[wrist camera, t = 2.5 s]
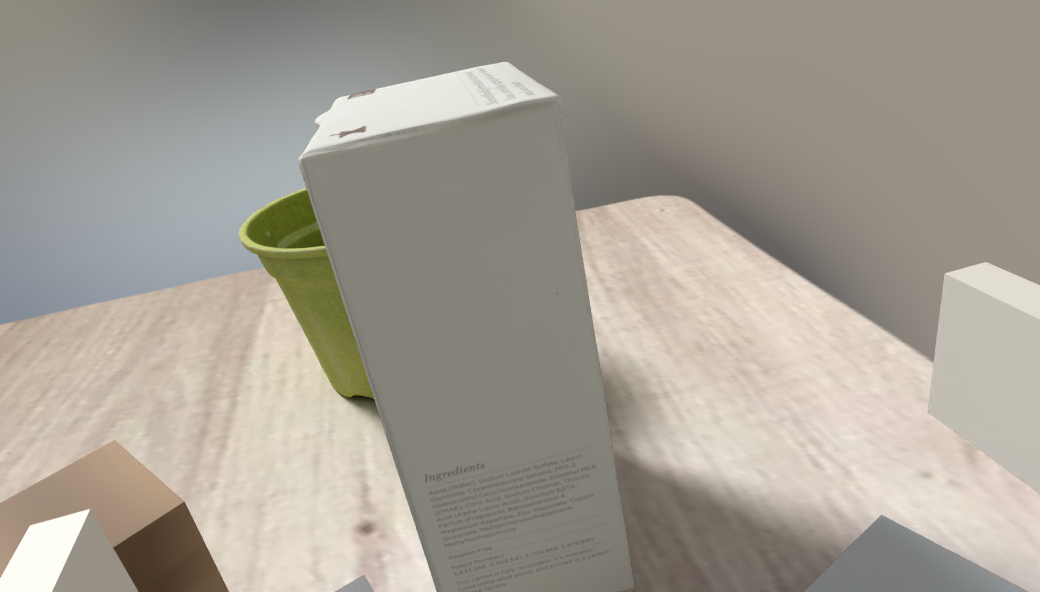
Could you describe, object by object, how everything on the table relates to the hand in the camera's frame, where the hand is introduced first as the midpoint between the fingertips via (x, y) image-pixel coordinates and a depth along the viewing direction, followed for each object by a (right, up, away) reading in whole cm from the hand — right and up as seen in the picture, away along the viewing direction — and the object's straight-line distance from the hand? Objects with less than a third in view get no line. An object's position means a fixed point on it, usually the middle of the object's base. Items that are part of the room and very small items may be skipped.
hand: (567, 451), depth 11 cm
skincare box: (-1, -6, +14) cm, 15 cm away
